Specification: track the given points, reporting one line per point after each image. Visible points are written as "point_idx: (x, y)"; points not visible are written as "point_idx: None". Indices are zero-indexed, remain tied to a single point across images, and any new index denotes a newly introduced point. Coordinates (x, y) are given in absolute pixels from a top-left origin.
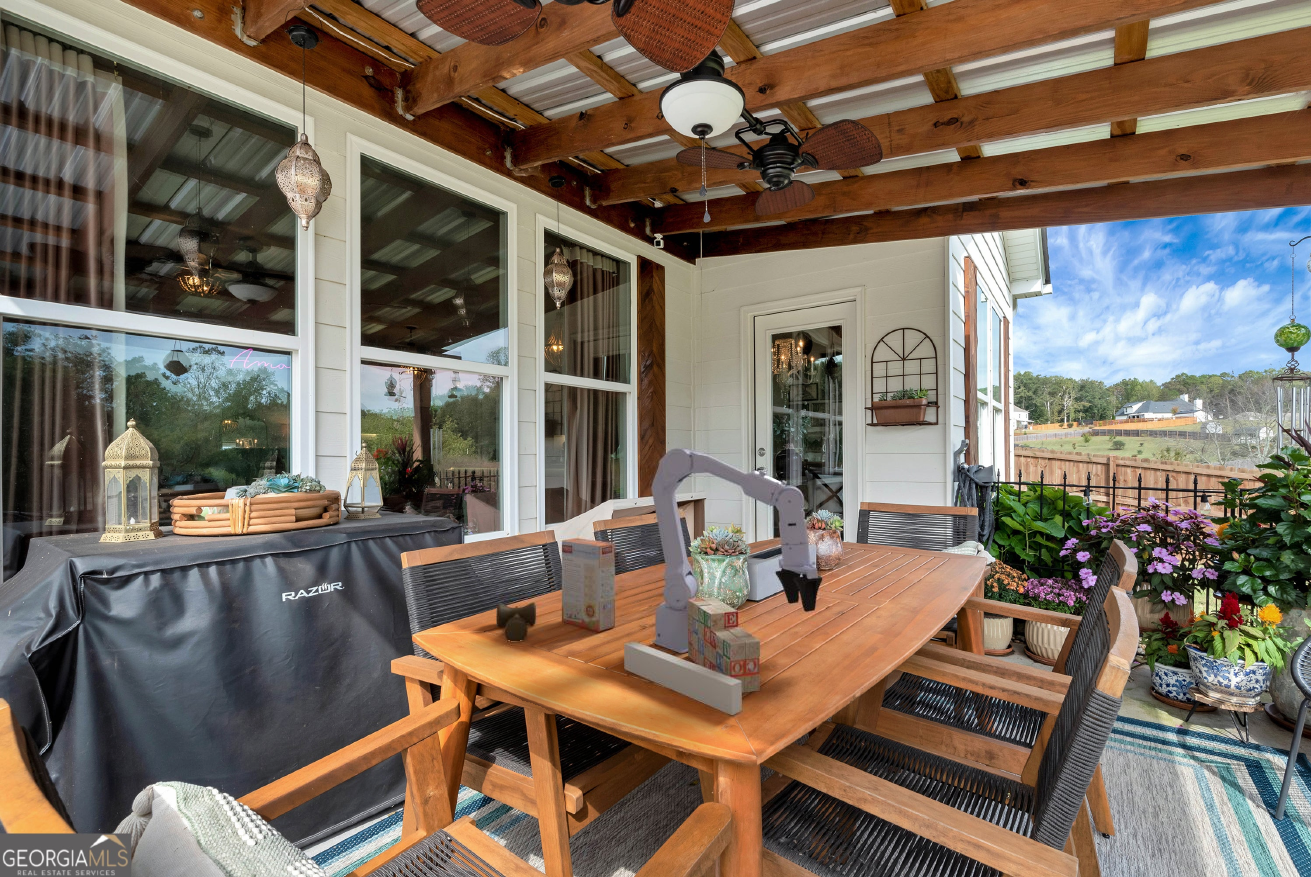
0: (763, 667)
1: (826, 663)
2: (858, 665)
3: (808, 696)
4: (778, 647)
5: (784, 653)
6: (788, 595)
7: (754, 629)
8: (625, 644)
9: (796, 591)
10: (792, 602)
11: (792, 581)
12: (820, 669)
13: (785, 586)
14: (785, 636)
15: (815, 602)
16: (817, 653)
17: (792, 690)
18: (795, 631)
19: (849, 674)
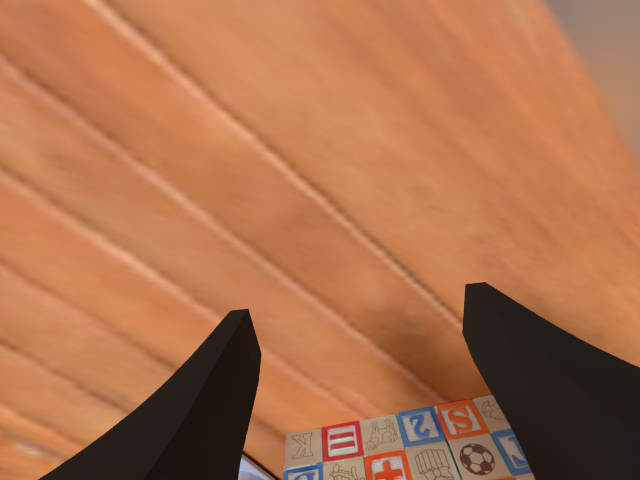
0: (411, 348)
1: (416, 162)
2: (459, 44)
3: (620, 292)
4: (249, 272)
5: (307, 269)
6: (249, 398)
7: (53, 305)
8: None
9: (226, 367)
10: (256, 343)
11: (205, 471)
12: (462, 201)
13: (234, 476)
14: (123, 218)
15: (522, 307)
16: (316, 159)
17: (573, 318)
18: (48, 160)
19: (526, 119)
